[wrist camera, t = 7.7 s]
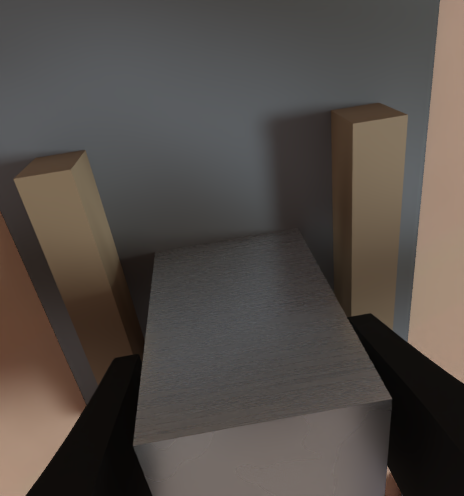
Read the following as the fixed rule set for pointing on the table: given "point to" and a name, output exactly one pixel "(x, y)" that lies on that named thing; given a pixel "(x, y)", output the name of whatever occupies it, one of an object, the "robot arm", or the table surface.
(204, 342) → the aluminium block
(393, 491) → the table surface
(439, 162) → the table surface
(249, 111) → the dock
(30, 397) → the table surface
